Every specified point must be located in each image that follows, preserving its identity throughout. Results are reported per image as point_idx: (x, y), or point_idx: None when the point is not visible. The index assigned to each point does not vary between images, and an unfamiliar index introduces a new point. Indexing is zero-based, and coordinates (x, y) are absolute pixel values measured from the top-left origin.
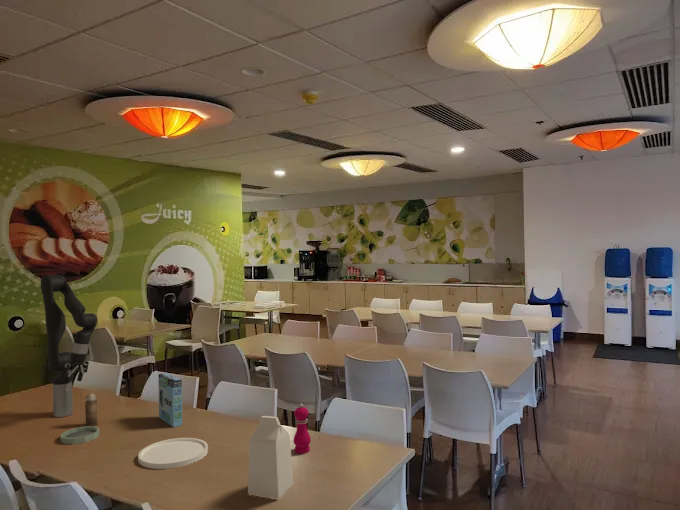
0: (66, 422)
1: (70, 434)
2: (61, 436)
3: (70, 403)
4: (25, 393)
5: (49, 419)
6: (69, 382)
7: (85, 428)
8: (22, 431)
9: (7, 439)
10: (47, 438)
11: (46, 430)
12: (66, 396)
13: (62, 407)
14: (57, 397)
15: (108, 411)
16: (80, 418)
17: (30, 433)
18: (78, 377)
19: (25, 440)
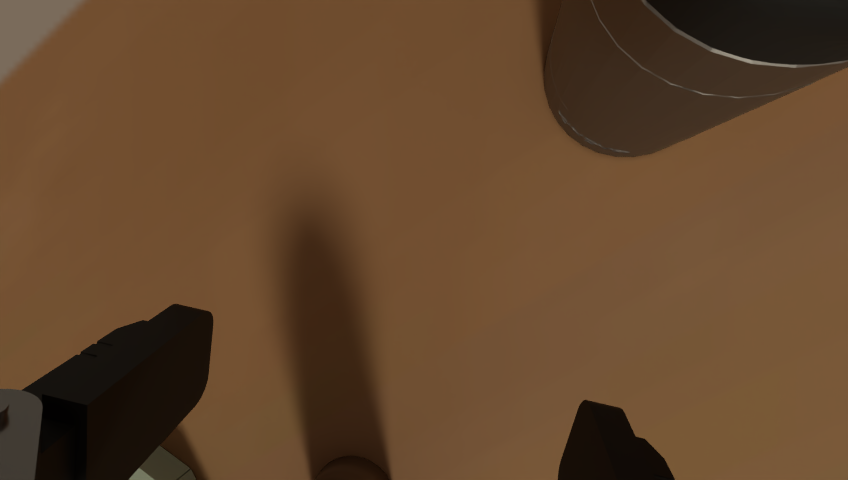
0: (414, 245)
1: None
2: None
3: (648, 140)
4: None
5: (492, 34)
6: (777, 61)
7: None
8: (210, 20)
9: (62, 35)
10: (89, 317)
11: (234, 200)
12: (623, 102)
13: (564, 98)
14: (565, 4)
15: (728, 471)
16: (519, 308)
17: (173, 118)
18: (594, 470)
19: (51, 183)
